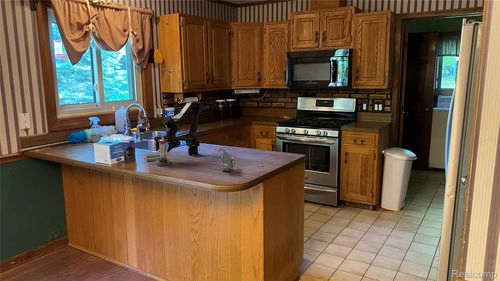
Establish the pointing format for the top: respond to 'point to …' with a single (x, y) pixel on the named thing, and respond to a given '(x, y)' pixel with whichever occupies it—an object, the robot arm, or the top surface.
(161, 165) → the receiver socket
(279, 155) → the top surface
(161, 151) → the pin
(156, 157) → the tray
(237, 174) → the top surface
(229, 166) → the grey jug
